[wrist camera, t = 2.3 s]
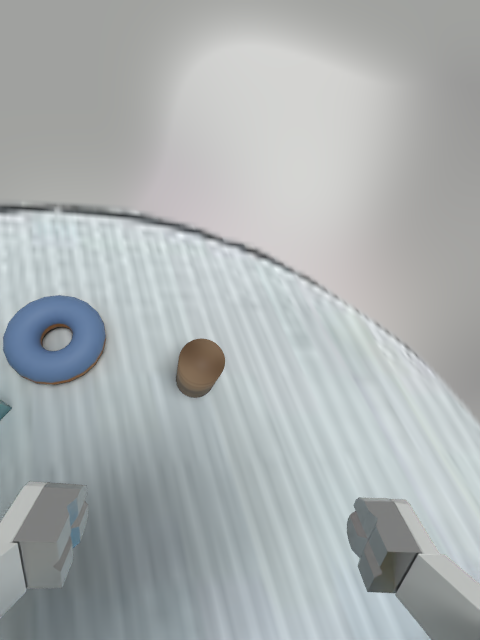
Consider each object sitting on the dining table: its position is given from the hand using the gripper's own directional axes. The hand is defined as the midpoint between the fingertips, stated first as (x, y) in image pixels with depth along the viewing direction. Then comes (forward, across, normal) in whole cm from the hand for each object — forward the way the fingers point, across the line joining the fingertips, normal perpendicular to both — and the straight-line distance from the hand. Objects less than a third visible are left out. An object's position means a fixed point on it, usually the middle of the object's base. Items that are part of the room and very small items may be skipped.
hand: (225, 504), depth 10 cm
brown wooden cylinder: (+26, +2, +13) cm, 29 cm away
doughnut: (+27, +17, +11) cm, 34 cm away
